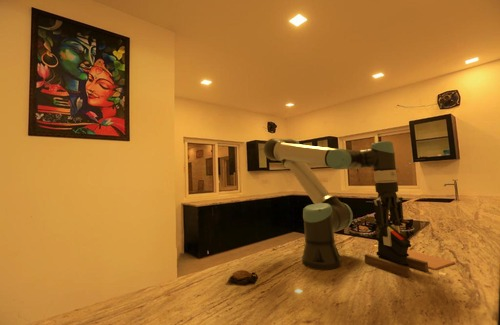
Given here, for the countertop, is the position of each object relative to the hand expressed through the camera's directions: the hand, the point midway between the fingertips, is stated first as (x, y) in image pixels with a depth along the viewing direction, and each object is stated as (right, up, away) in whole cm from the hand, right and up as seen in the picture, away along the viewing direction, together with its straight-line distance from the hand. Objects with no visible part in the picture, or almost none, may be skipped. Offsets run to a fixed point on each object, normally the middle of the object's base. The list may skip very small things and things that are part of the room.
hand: (392, 244), depth 89 cm
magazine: (+1, -8, -1) cm, 8 cm away
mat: (+13, -8, +5) cm, 16 cm away
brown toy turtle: (-56, -12, -4) cm, 58 cm away
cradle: (+1, -8, -1) cm, 8 cm away
